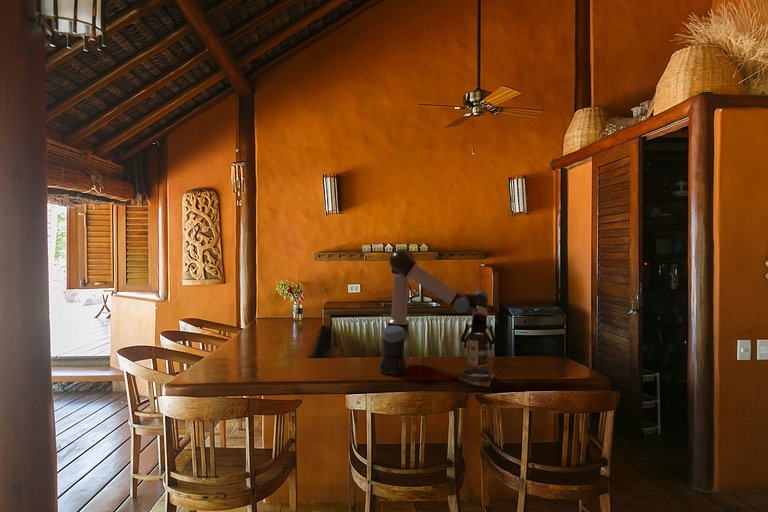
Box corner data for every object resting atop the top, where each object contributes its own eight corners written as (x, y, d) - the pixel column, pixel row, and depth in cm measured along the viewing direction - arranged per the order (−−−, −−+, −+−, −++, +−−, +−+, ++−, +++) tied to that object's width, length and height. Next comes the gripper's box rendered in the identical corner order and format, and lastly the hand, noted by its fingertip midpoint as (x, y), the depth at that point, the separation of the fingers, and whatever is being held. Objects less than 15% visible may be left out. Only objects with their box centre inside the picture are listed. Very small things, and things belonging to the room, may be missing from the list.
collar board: (458, 382, 238) (458, 374, 237) (466, 373, 251) (466, 366, 251) (488, 386, 231) (488, 378, 231) (495, 377, 245) (495, 370, 245)
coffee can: (487, 361, 245) (488, 334, 244) (488, 367, 235) (488, 339, 234) (467, 360, 247) (467, 333, 246) (466, 366, 237) (467, 338, 236)
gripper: (501, 322, 251) (500, 359, 237) (458, 320, 257) (455, 356, 243) (501, 314, 246) (500, 352, 232) (457, 312, 252) (454, 349, 238)
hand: (477, 354), depth 237 cm, fingers closed on coffee can, 10 cm apart
